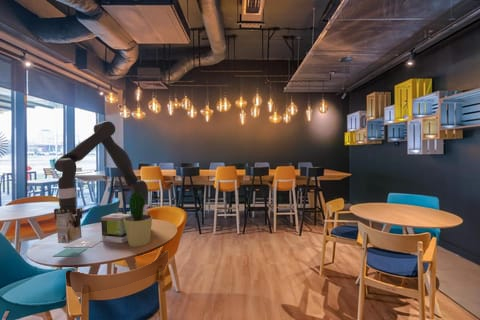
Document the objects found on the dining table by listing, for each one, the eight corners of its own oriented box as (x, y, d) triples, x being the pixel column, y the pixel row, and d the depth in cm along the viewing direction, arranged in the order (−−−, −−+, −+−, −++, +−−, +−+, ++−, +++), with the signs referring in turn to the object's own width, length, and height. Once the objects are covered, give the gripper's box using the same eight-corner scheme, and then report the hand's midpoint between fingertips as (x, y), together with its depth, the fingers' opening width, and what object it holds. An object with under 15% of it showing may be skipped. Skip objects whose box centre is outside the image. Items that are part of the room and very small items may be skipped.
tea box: (134, 237, 162) (133, 214, 161) (121, 243, 152) (120, 218, 151) (114, 235, 167) (113, 212, 166) (101, 241, 157) (100, 216, 156)
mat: (87, 248, 146) (87, 248, 146) (75, 256, 136) (75, 255, 136) (66, 248, 146) (66, 248, 146) (52, 256, 136) (52, 256, 136)
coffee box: (72, 237, 146) (70, 208, 145) (82, 237, 145) (80, 208, 144) (57, 243, 137) (55, 212, 136) (68, 243, 136) (66, 212, 135)
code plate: (101, 240, 158) (101, 240, 158) (91, 247, 148) (91, 246, 148) (75, 241, 159) (75, 240, 159) (63, 247, 149) (63, 247, 149)
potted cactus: (142, 249, 143) (139, 194, 141) (118, 246, 148) (115, 193, 146) (158, 239, 158) (156, 189, 156) (137, 237, 162) (134, 188, 161)
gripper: (85, 194, 143) (86, 225, 144) (59, 195, 144) (61, 225, 145) (75, 197, 136) (77, 229, 136) (48, 198, 136) (50, 229, 137)
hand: (69, 227), depth 141 cm, fingers closed on coffee box, 7 cm apart
